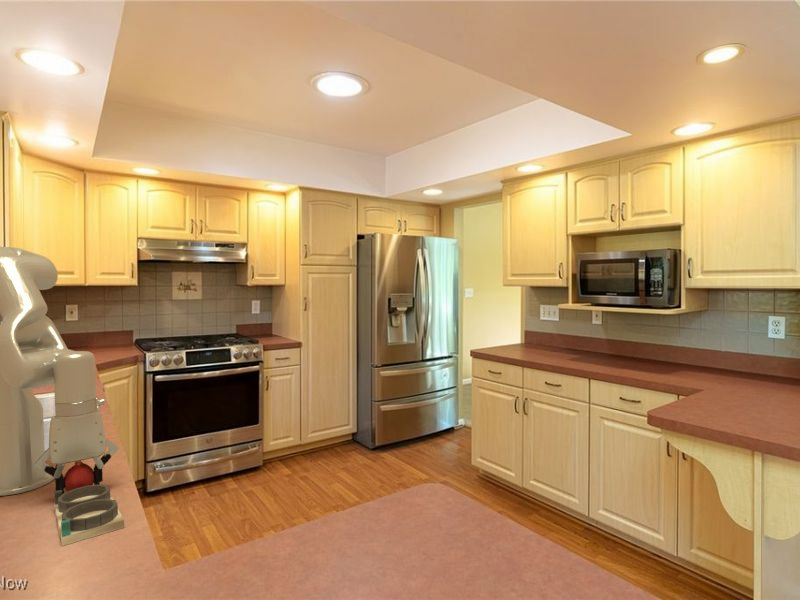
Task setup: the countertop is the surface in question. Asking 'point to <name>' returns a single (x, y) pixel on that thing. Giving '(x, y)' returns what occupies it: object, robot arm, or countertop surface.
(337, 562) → the countertop surface
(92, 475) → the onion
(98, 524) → the cream flat ringed piece
